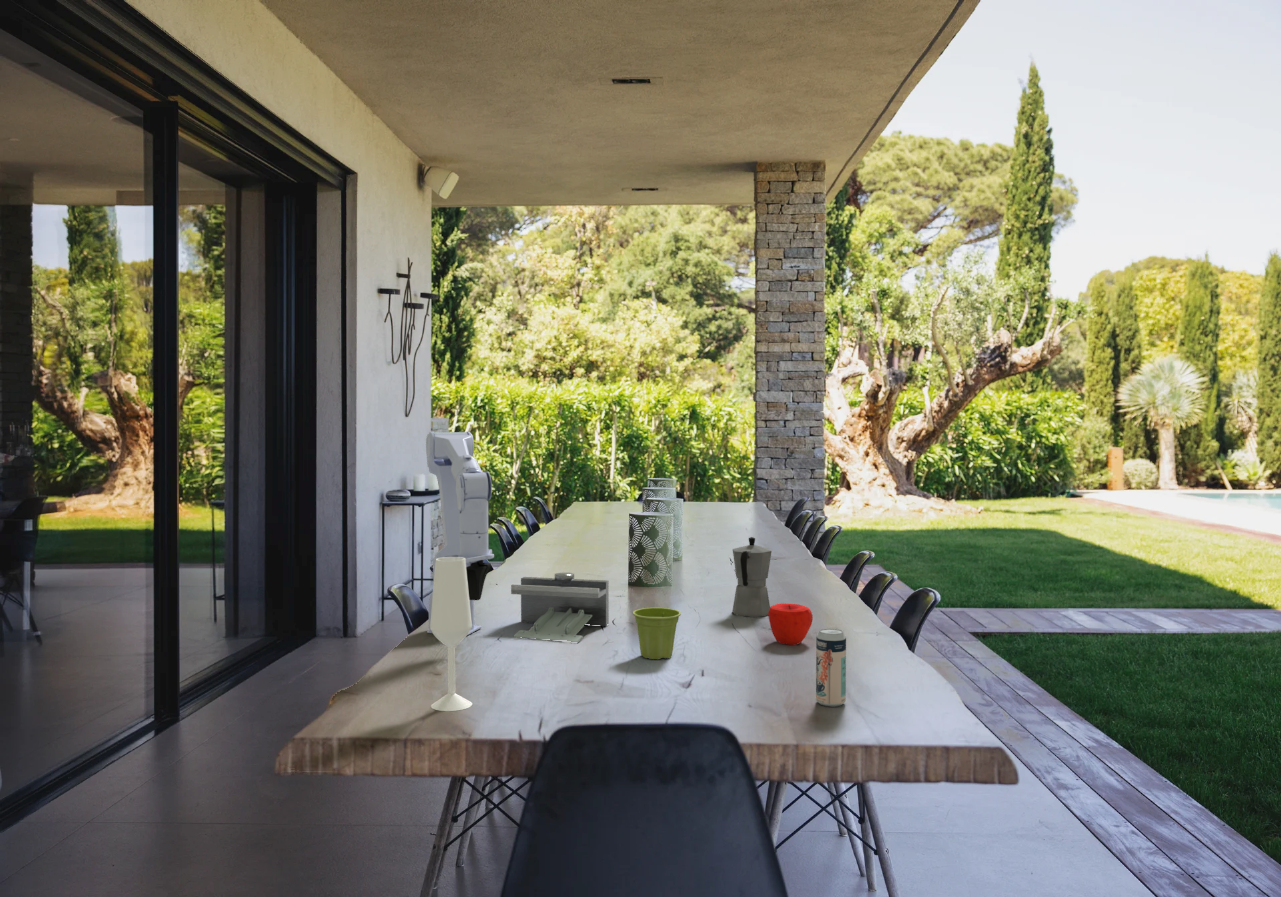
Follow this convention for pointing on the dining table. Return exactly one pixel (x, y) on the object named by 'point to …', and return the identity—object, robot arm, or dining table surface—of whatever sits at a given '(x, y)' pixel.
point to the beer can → (831, 667)
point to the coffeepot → (751, 580)
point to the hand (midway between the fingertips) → (474, 599)
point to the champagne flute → (450, 620)
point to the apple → (790, 622)
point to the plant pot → (656, 631)
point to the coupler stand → (563, 597)
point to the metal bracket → (557, 626)
